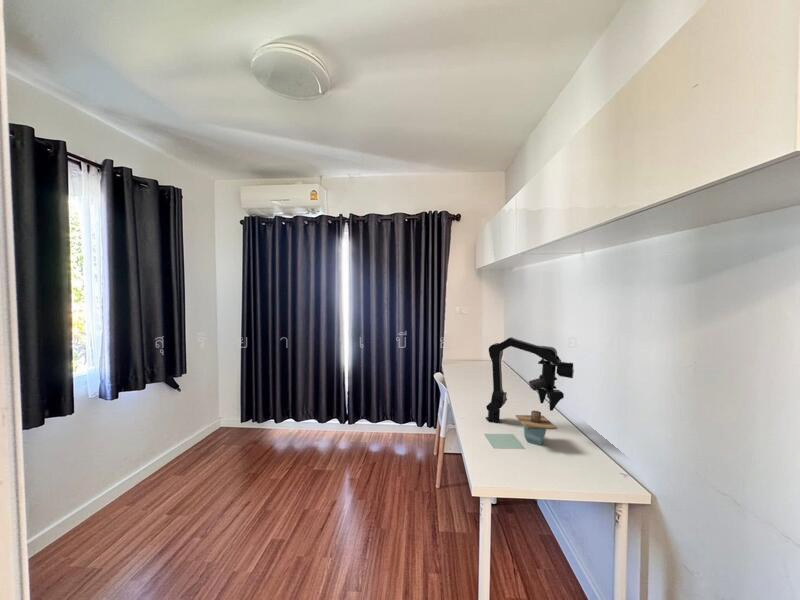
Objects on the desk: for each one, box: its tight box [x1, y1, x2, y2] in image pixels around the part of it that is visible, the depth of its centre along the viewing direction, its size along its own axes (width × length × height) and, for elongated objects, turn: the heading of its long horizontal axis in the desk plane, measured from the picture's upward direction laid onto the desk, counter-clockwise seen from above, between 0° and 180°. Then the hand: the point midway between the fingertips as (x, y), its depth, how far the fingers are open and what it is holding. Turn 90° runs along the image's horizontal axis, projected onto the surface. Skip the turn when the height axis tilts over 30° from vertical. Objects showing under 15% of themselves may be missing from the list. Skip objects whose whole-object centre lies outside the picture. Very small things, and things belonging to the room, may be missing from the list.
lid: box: [515, 410, 558, 430], centre depth 152 cm, size 13×13×5 cm
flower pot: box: [523, 425, 547, 446], centre depth 152 cm, size 9×9×9 cm
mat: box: [483, 433, 526, 450], centre depth 152 cm, size 14×14×1 cm
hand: (546, 406), depth 161 cm, fingers open, 9 cm apart
